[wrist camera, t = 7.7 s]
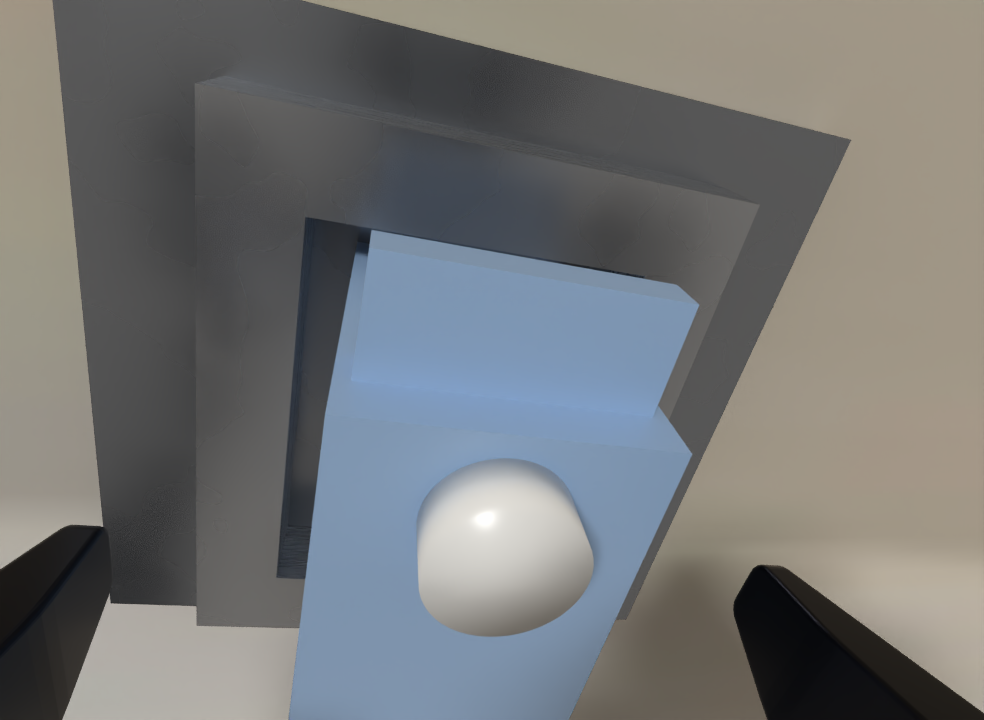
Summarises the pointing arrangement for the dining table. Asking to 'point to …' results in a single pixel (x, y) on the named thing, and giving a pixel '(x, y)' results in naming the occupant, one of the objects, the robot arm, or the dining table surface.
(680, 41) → the dining table surface
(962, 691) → the dining table surface
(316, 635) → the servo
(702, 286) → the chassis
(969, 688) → the dining table surface
